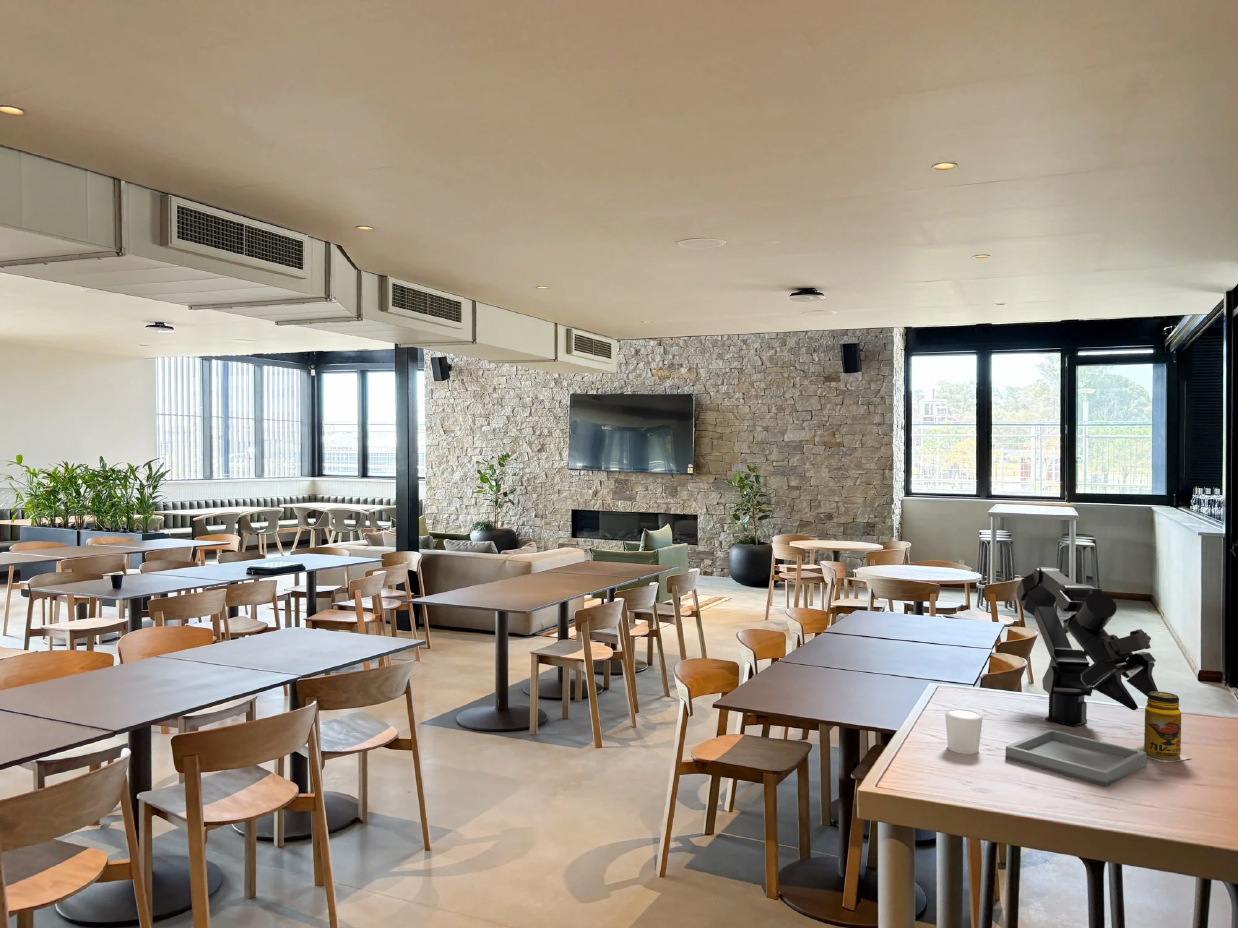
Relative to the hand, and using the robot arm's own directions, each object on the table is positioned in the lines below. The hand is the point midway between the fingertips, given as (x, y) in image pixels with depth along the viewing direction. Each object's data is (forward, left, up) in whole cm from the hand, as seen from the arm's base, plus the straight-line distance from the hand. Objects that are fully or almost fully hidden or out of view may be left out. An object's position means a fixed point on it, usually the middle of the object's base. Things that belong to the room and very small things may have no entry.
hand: (1148, 705), depth 177 cm
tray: (-6, -18, -9) cm, 21 cm away
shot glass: (-23, -28, -9) cm, 37 cm away
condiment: (+2, 0, -9) cm, 9 cm away
